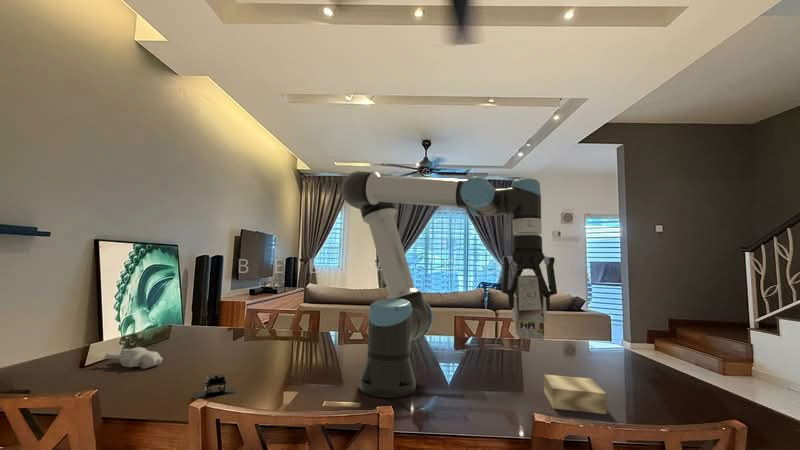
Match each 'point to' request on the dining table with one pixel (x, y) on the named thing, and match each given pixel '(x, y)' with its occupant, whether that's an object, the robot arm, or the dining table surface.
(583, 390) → the beech block
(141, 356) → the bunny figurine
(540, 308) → the coffee box
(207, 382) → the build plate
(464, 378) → the dining table surface
